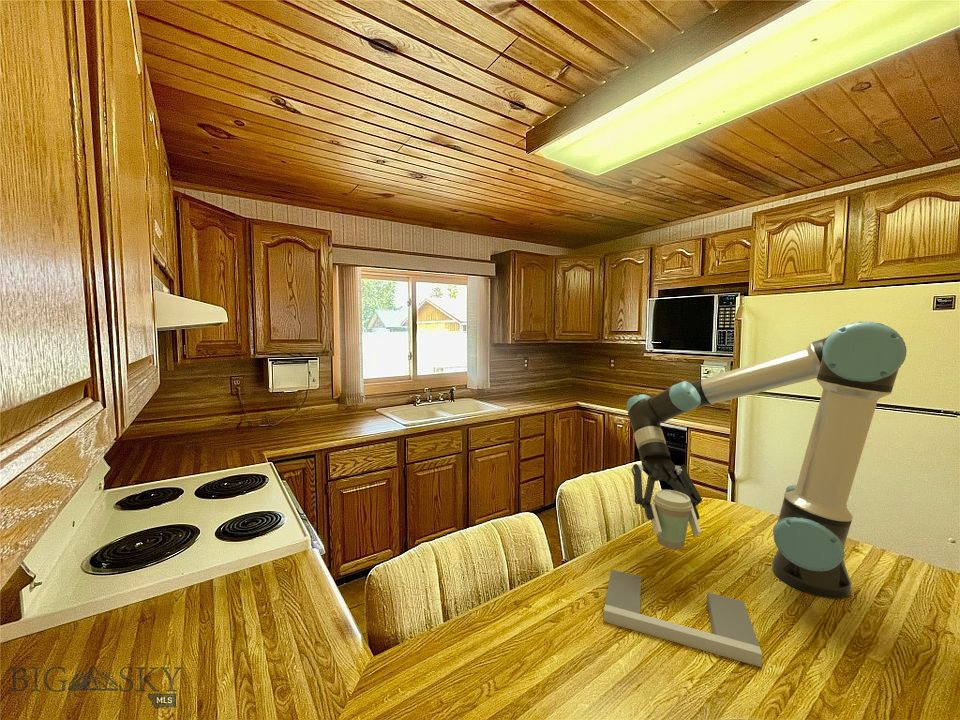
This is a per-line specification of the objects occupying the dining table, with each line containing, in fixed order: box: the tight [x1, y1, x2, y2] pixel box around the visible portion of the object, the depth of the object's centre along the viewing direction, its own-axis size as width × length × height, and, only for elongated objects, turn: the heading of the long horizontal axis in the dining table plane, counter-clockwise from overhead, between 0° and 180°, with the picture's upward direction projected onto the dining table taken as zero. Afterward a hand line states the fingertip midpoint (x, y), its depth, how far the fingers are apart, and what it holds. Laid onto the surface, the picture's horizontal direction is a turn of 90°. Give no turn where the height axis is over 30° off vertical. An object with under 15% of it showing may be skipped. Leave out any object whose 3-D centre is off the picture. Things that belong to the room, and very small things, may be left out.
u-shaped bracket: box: [603, 569, 763, 668], centre depth 85 cm, size 28×16×2 cm, turn 66°
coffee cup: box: [653, 489, 693, 551], centre depth 96 cm, size 9×8×12 cm
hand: (677, 533), depth 92 cm, fingers closed on coffee cup, 8 cm apart
